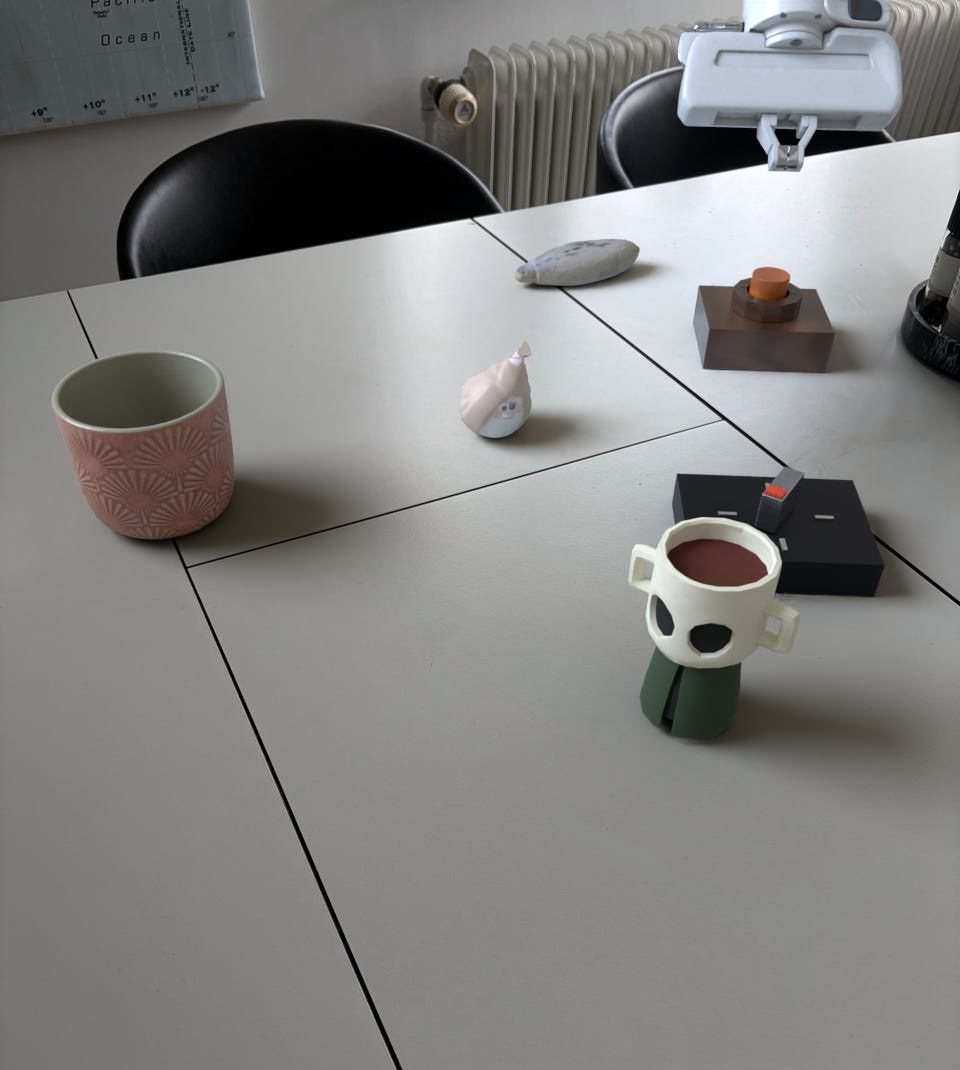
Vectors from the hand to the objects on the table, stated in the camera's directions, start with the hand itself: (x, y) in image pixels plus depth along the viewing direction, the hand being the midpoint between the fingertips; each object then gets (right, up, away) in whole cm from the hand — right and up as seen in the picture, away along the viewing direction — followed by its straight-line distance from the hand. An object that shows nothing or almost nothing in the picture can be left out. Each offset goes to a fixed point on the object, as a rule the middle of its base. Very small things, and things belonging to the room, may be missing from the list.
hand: (785, 168), depth 97 cm
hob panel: (-6, -37, -16) cm, 41 cm away
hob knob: (-6, -35, -18) cm, 39 cm away
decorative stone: (-17, -3, +22) cm, 28 cm away
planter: (-54, -34, -13) cm, 65 cm away
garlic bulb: (-27, -25, -3) cm, 37 cm away
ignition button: (0, -10, +5) cm, 11 cm away
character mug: (-15, -49, -29) cm, 59 cm away
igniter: (0, -14, +9) cm, 17 cm away
